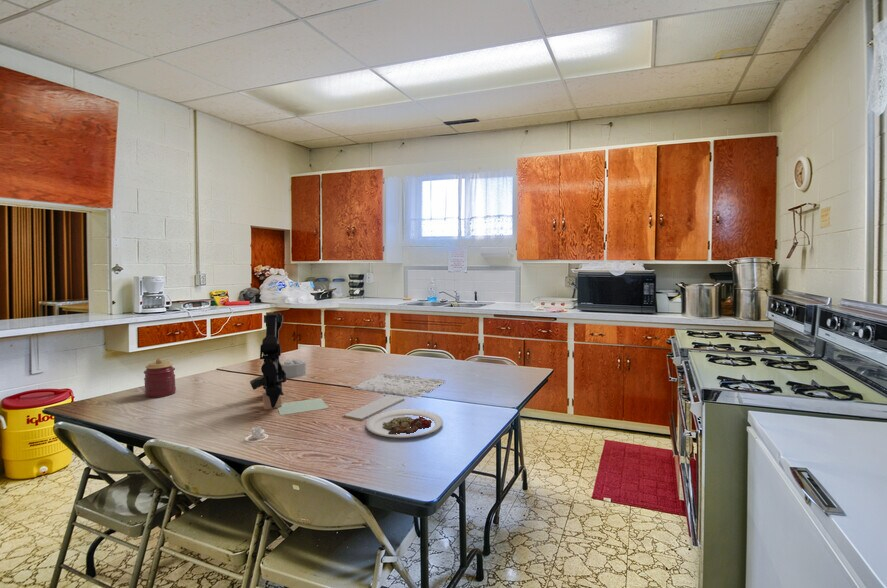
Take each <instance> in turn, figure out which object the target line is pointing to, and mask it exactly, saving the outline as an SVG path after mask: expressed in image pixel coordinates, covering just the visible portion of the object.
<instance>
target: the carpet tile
mask: <svg viewBox="0 0 887 588" xmlns="http://www.w3.org/2000/svg"><path fill="white" fill-rule="evenodd" d="M445 381H446V379H445V380H444V379H442V378H440V379H439V378H429V377H424V378H423V377H419V376H413V375H412V376H410V375H403V374H402V375H393V374H388V373H381V374H378V375H375V376H374V377H372V378H371V379H368V380H364V381H363V382H361V383H358V384H356V385H352V386H350V389H351V390H355V391H364V392H370V393H377V394H378V393H379V394H384V395H386V394H387V395H391V394H392V396H393V395H394V394H396V395H394V396H397V395H398V396H400V397H403V396H404V397H408V398H409V397H410V398H416V397H421V398H422V396H423V395H424V394H422V393H428V392H429V391H431V390H432V391H434V390H435V389H434V388H436V387H437V388H439V387H440V386H442V385H443V384H442V383H444V382H445ZM445 383H446V382H445ZM445 383H444V384H445ZM436 384H437V385H436ZM441 384H442V385H441ZM439 385H440V386H439ZM438 386H439V387H438ZM437 388H436V389H437ZM433 389H434V390H433ZM424 391H425V392H424ZM432 391H431V392H432ZM429 393H430V392H429ZM429 393H428V394H429ZM418 395H422V396H418ZM424 396H425V395H424ZM424 396H423V397H424Z"/></svg>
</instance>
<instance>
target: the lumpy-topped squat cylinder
mask: <svg viewBox="0 0 887 588" xmlns="http://www.w3.org/2000/svg"><path fill="white" fill-rule="evenodd" d="M281 365H282V366H283V370H284V371H285V373H286V379H294V378H299V377H303V376H306V375H307V367H306V366H307V363H306V361H304V360H302V359H299V358H295V359H293V360H291V359H289V358H288V359H287V360H285V361H284V362H283V363H281Z"/></svg>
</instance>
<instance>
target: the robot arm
mask: <svg viewBox="0 0 887 588" xmlns="http://www.w3.org/2000/svg"><path fill="white" fill-rule="evenodd" d="M283 322H284V314H281V312H270V313H269V312H267V313H266V315H263V323H265V327H266V329H265V330H266V332H265V337H264V338H263V339H262V343H261V344H260V349H259V350H260V351H259V360H263V363H262V365H261V366H260V367H261V368H260V371H261V373H262V375H261V376H259V377H256V378H254V379H252V380H250V381H249V382H250V385H251V388H252V390H257V389H259V388H261V387H262V389H264V393H265V394H266V395H267V396H268V397H269V398H270V403H271V407H272V409H275V408H274V407H275V405H276V402H277V400H278V398H279V396H280V397H281V396H284V395H285V393H284V392H283V383H286V382H287V378H286V373H285V371H284V370H283V366H282V363H281V362H280V357H282V356H281V355H282V346H281V345H280V340H279V339H280V338H279V337H280V332H279V331H280V329H281V328H282V327H283Z"/></svg>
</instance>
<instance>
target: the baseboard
mask: <svg viewBox="0 0 887 588" xmlns="http://www.w3.org/2000/svg"><path fill="white" fill-rule="evenodd" d="M398 396H399V395H396V394H394V396H393V394H390V395H384V396H383V397H381V398H379V399H376V400H374V401H372V402H370V403H368V404H366V405H363V406H361V407H359V408H356V409H354V410H352V411H349V412H347V413H345V414H342V416H341V417H342V418H347V419H352V420H356V421H359V422H362V421H364V420H366V419H369V418H371V417H372V416H374V415H377V414H379V413H382V412H383V411H385V410H387V409H389V408H391V407H394V406H395V405H397V404H399V403H401V402H404V401H405V398H404V397H405V396H402V397H401V396H399V397H398Z"/></svg>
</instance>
